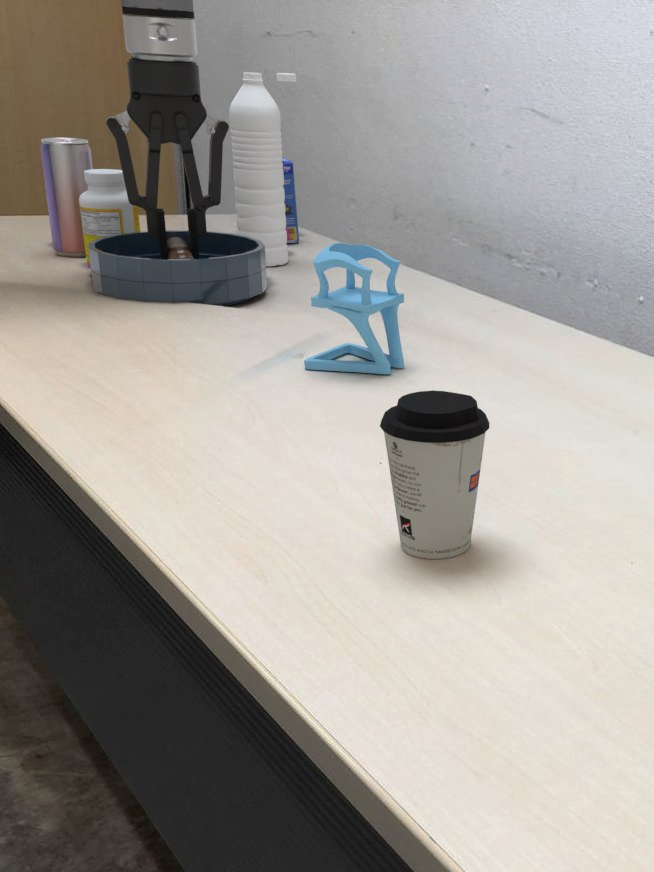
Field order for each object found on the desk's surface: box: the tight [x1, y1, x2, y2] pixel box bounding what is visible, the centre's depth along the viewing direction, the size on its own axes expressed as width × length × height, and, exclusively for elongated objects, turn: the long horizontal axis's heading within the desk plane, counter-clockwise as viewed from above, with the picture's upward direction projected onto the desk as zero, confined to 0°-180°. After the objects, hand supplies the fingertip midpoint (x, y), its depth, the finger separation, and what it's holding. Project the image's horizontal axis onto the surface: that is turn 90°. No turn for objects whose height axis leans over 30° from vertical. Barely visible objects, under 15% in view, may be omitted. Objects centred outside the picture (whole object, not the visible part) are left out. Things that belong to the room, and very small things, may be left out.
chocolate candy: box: [167, 237, 194, 259], centre depth 135 cm, size 13×3×3 cm, turn 25°
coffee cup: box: [379, 390, 490, 560], centre depth 73 cm, size 7×7×10 cm
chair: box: [303, 242, 405, 375], centre depth 110 cm, size 8×8×12 cm
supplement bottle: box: [79, 168, 141, 276], centre depth 141 cm, size 7×7×13 cm
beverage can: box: [40, 137, 94, 258], centre depth 151 cm, size 6×6×15 cm
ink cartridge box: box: [282, 157, 300, 245], centre depth 169 cm, size 10×6×14 cm, turn 40°
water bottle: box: [228, 71, 297, 268], centre depth 151 cm, size 9×6×25 cm
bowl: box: [88, 229, 268, 307], centre depth 135 cm, size 19×19×6 cm
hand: (180, 264), depth 136 cm, fingers closed on chocolate candy, 3 cm apart
